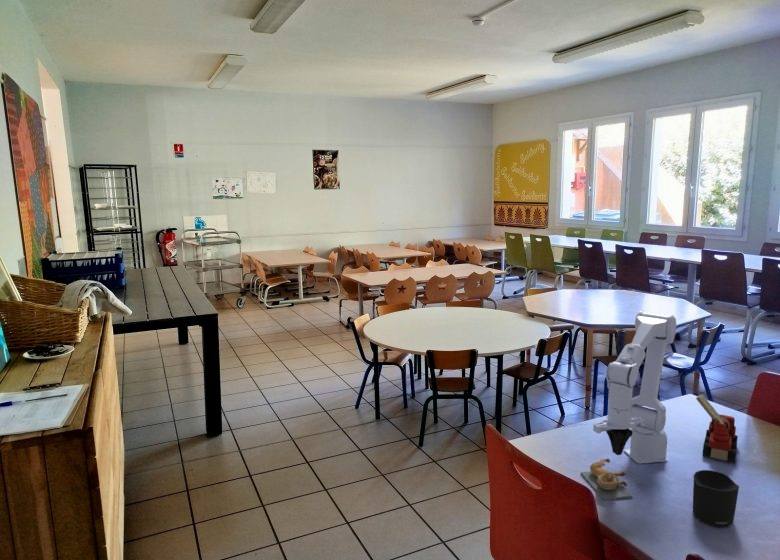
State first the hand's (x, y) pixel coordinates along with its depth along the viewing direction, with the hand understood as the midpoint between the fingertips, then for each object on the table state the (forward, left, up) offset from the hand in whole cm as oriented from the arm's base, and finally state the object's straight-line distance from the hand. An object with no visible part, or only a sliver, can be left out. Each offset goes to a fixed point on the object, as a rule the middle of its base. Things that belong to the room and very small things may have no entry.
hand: (617, 453), depth 146 cm
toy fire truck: (-39, -13, -10) cm, 43 cm away
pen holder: (-16, +17, -10) cm, 25 cm away
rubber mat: (+3, 0, -9) cm, 10 cm away
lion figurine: (-2, -1, -6) cm, 7 cm away
